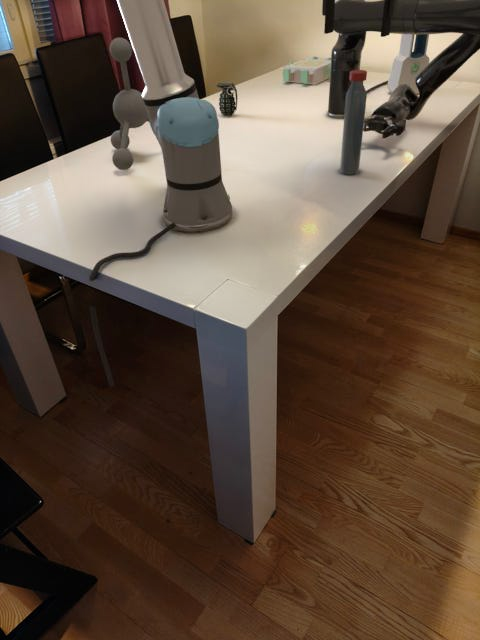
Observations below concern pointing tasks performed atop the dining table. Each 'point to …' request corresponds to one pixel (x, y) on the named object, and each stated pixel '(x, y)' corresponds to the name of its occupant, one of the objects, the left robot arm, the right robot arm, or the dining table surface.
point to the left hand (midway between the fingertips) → (355, 34)
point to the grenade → (227, 99)
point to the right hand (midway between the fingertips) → (368, 132)
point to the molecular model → (125, 107)
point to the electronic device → (409, 61)
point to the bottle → (353, 128)
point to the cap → (358, 75)
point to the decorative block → (308, 71)
